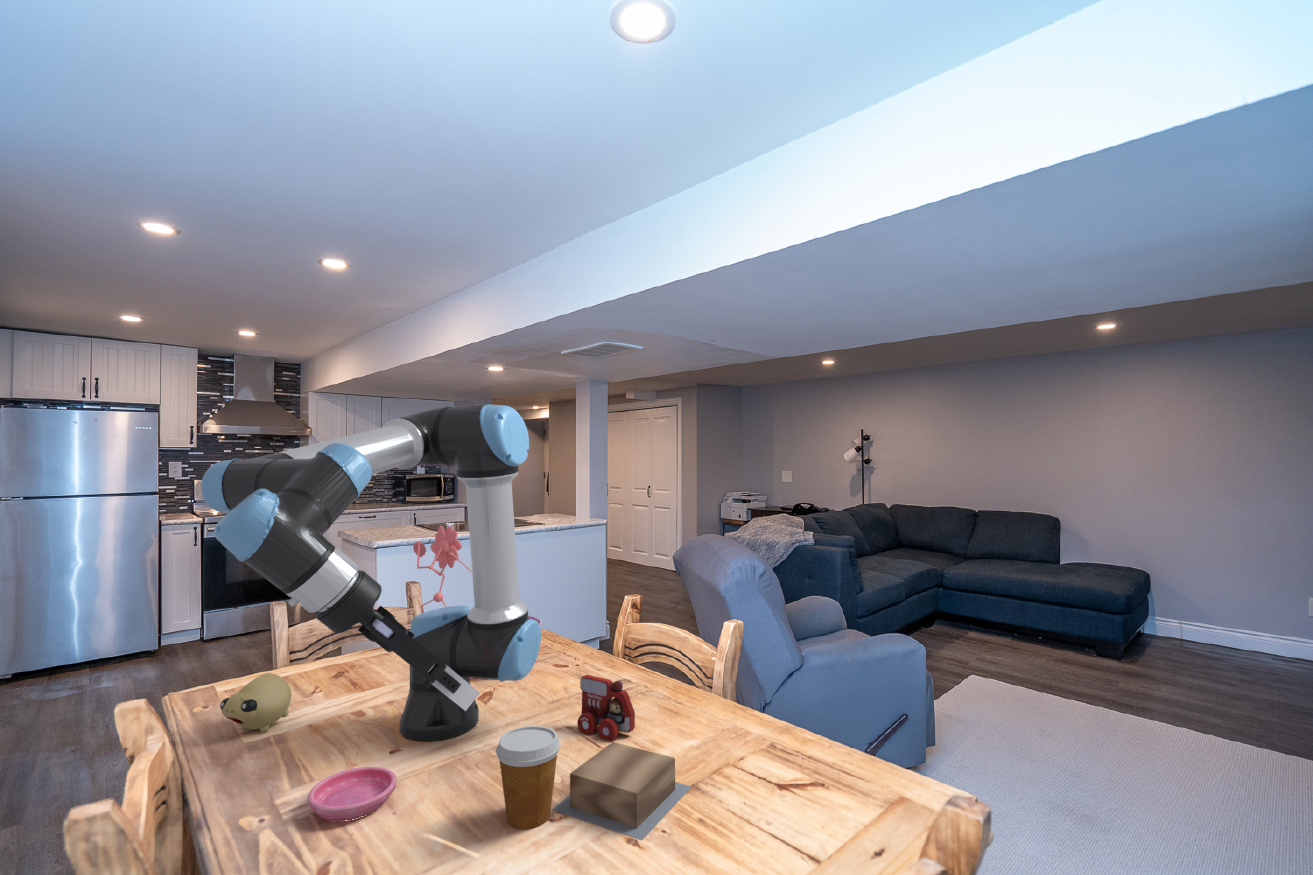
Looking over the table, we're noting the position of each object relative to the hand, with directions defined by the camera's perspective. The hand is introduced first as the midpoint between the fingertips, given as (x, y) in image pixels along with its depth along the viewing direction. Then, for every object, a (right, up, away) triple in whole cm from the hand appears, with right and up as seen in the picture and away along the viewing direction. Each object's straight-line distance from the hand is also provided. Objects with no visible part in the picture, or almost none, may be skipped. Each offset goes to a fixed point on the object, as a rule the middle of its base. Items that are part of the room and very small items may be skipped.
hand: (454, 686), depth 86 cm
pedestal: (+23, -22, +11) cm, 34 cm away
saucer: (-19, -23, +11) cm, 32 cm away
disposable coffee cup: (+9, -23, +6) cm, 25 cm away
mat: (+23, -22, +11) cm, 34 cm away
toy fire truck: (+18, -24, +36) cm, 46 cm away
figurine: (-32, -26, +92) cm, 101 cm away
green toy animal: (-52, -24, +38) cm, 69 cm away
